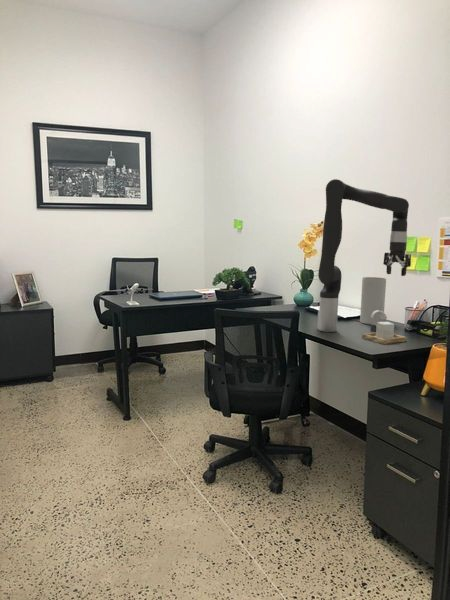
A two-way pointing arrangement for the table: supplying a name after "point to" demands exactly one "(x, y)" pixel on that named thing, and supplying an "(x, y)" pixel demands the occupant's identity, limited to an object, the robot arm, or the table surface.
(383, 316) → the watch
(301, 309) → the table surface
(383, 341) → the tray
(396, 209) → the robot arm
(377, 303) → the cylinder vase
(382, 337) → the skincare box
